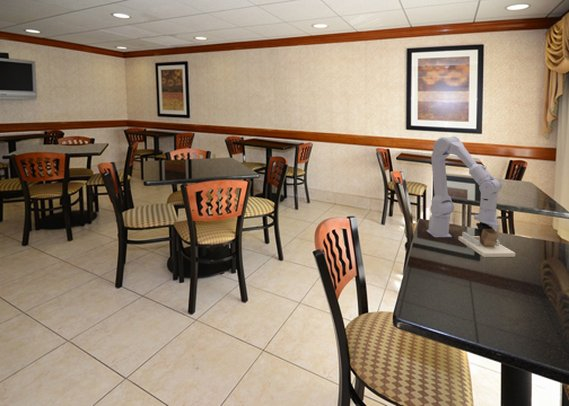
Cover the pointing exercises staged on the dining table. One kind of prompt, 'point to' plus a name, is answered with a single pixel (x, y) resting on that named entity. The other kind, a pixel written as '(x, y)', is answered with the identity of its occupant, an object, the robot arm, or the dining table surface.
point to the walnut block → (488, 237)
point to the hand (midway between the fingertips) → (483, 240)
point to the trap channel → (485, 251)
